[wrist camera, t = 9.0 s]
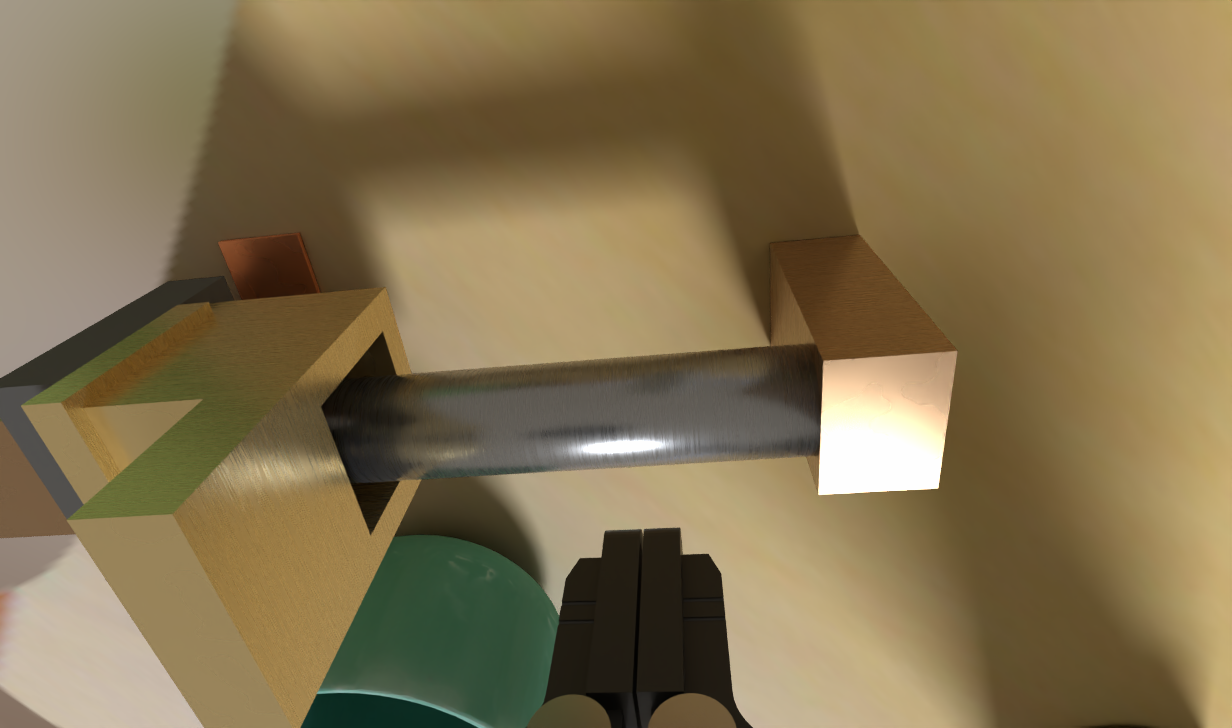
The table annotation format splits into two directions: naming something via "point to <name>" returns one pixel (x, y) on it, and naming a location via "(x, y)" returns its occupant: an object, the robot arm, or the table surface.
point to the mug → (441, 643)
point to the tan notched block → (231, 491)
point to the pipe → (637, 393)
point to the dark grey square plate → (52, 366)
